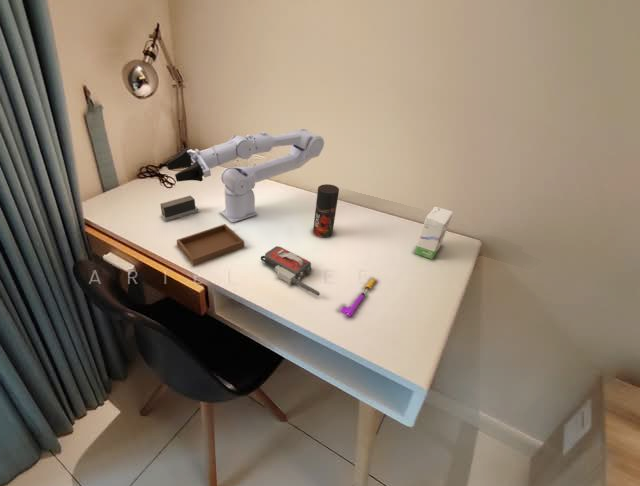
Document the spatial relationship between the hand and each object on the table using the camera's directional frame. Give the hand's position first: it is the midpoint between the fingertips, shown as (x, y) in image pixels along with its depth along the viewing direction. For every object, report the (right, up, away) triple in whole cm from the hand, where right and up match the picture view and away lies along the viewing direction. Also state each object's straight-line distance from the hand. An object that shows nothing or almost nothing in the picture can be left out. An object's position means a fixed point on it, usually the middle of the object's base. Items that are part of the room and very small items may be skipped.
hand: (171, 172), depth 102 cm
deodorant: (+45, -17, +8) cm, 49 cm away
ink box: (+74, -22, 0) cm, 77 cm away
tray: (+11, -22, +3) cm, 24 cm away
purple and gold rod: (+49, -33, -15) cm, 61 cm away
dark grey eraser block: (-1, -11, +19) cm, 22 cm away
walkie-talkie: (+34, -29, -8) cm, 45 cm away
